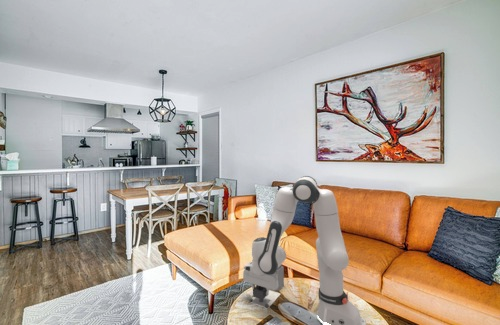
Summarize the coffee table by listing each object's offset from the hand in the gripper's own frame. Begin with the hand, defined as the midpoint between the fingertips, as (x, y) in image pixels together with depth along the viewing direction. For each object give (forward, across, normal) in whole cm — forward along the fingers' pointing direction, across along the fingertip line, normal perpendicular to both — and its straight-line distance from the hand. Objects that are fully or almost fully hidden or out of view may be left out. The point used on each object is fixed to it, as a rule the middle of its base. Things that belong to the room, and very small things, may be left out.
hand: (260, 292), depth 137 cm
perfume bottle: (+6, -1, -17) cm, 18 cm away
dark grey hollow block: (+1, 0, 0) cm, 1 cm away
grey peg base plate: (+6, 0, -4) cm, 8 cm away
